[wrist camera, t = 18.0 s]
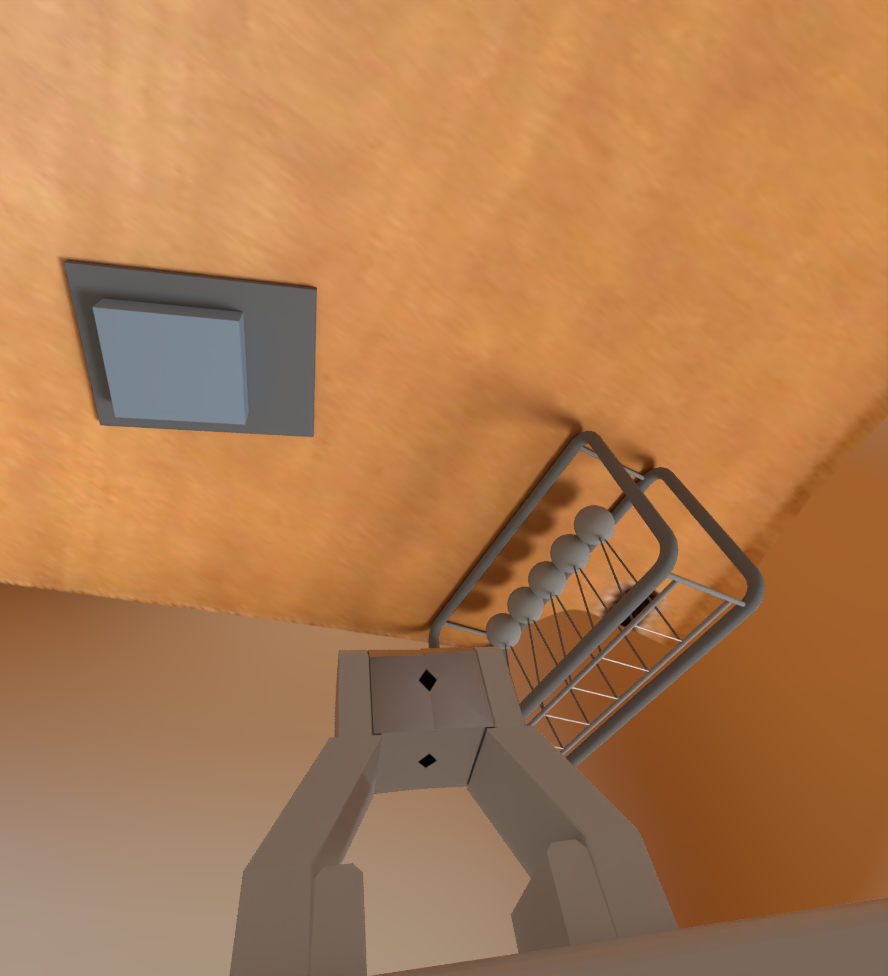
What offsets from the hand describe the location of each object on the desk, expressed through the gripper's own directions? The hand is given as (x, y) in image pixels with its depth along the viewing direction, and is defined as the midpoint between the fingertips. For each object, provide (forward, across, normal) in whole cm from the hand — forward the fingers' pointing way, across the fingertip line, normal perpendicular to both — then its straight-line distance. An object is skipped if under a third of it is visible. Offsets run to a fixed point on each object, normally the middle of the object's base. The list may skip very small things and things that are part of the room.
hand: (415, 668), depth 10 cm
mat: (+35, +11, +9) cm, 38 cm away
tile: (+33, +8, +9) cm, 36 cm away
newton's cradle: (+35, -20, +28) cm, 49 cm away
